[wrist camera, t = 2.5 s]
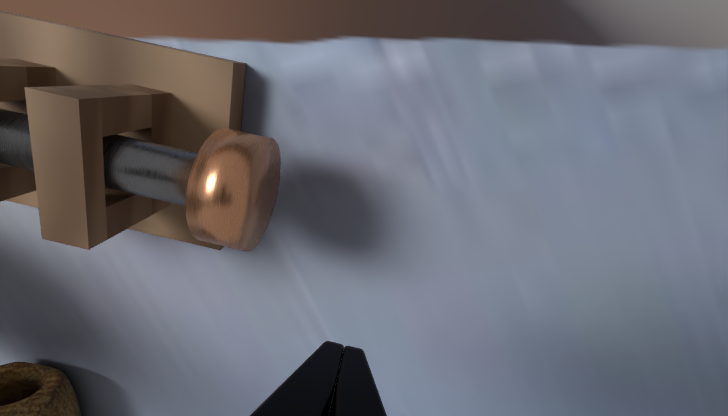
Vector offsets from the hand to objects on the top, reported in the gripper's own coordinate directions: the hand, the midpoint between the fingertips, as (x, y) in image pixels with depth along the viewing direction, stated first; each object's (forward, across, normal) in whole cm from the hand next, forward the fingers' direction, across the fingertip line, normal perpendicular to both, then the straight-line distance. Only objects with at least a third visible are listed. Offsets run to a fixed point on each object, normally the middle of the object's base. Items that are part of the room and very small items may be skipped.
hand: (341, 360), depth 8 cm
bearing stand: (+13, +15, 0) cm, 20 cm away
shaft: (+11, +11, 0) cm, 16 cm away
